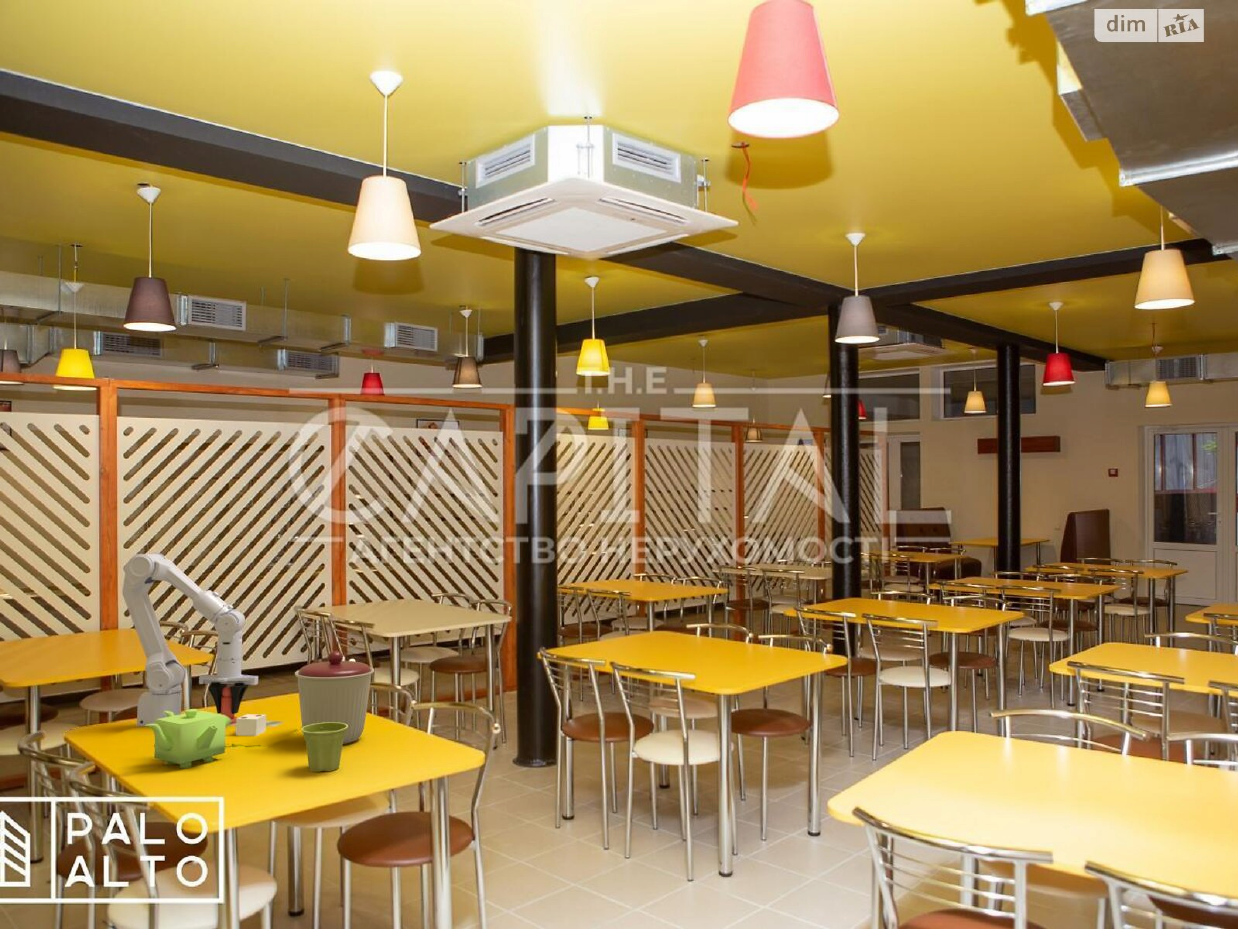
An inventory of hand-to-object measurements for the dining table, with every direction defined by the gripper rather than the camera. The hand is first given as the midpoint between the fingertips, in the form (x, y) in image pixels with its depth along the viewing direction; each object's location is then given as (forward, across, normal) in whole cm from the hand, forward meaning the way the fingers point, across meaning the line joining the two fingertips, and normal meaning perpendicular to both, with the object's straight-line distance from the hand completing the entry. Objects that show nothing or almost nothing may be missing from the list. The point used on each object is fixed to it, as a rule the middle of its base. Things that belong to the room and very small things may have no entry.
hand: (227, 713), depth 229 cm
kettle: (+4, +8, -32) cm, 33 cm away
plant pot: (+4, +39, -34) cm, 52 cm away
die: (+3, +11, -10) cm, 15 cm away
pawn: (+2, 0, 0) cm, 2 cm away
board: (+3, +3, 0) cm, 4 cm away
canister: (+4, +32, -12) cm, 34 cm away
